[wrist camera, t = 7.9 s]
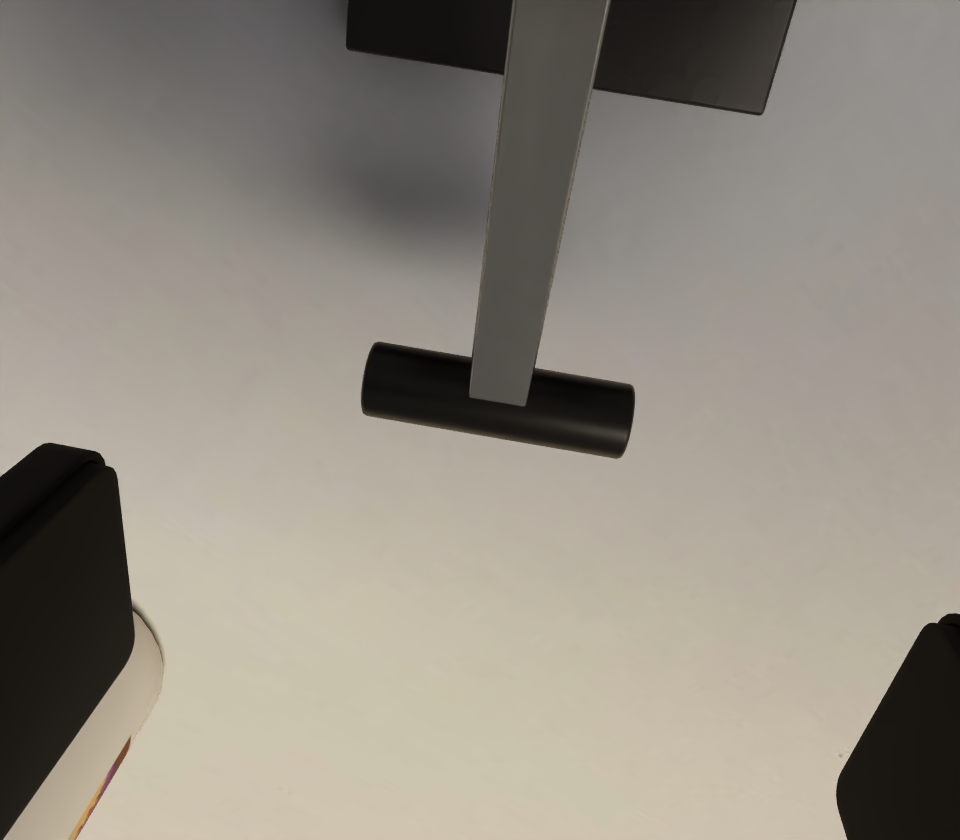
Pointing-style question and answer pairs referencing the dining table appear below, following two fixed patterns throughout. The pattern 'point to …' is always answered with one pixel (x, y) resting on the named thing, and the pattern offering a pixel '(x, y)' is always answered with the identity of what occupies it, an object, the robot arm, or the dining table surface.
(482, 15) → the bracket
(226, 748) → the dining table surface
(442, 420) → the lever
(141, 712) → the milk bottle
